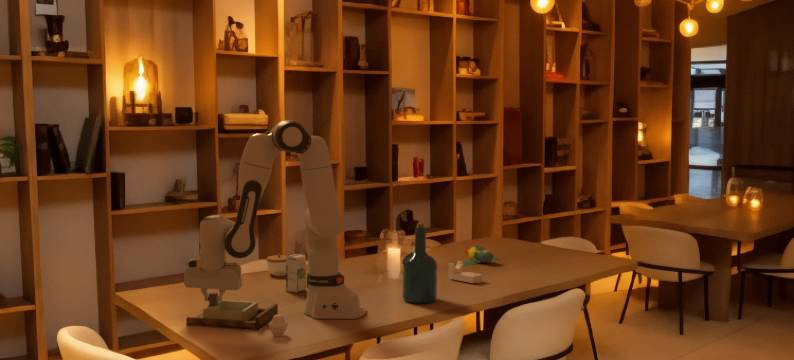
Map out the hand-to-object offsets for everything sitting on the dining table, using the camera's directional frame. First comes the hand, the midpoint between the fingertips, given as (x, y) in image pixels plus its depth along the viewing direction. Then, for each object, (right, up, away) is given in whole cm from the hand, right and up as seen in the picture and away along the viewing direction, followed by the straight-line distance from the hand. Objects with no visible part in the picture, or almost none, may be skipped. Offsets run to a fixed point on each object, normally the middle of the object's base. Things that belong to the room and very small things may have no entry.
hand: (213, 301), depth 252 cm
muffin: (+25, -9, -17) cm, 31 cm away
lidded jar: (+11, 0, +71) cm, 71 cm away
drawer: (+6, -5, -1) cm, 8 cm away
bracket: (+93, -2, +62) cm, 112 cm away
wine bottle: (+72, -5, +29) cm, 78 cm away
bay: (+7, -7, -1) cm, 10 cm away
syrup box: (+23, -3, +42) cm, 48 cm away
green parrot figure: (+103, +1, +100) cm, 144 cm away
